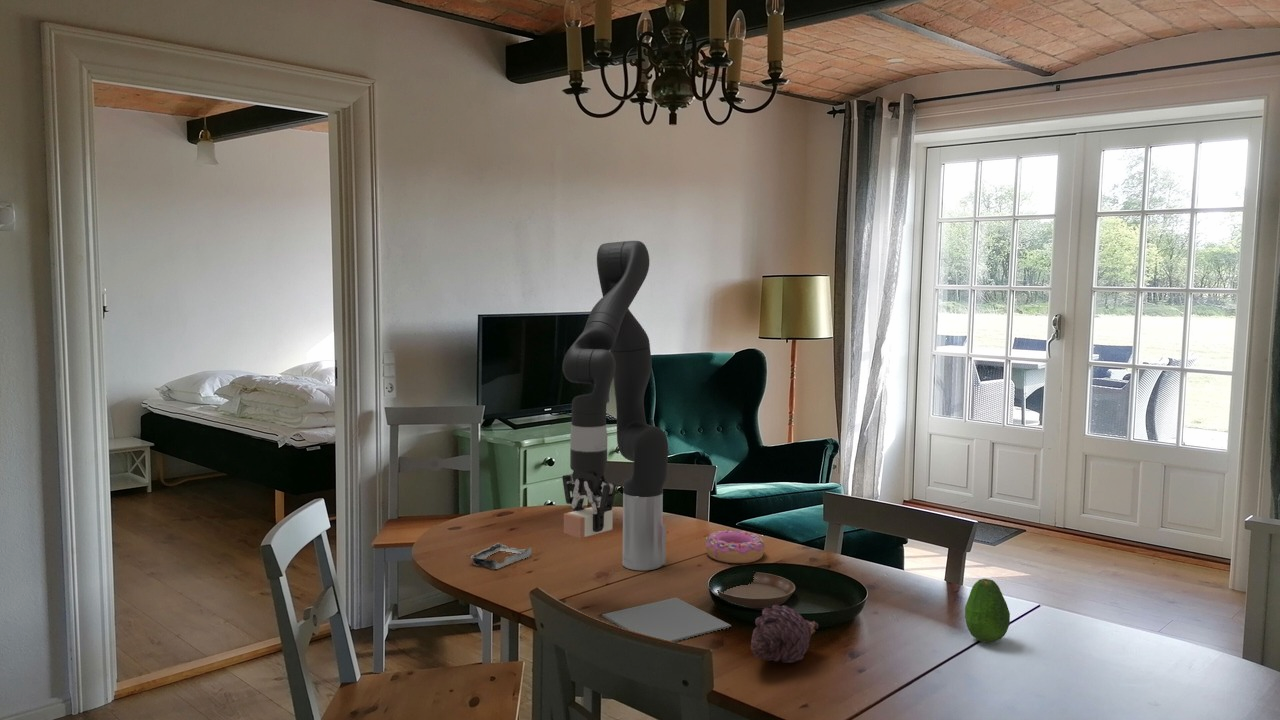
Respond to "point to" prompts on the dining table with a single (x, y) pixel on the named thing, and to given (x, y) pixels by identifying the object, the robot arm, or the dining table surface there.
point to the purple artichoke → (781, 634)
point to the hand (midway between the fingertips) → (588, 527)
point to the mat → (667, 620)
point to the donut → (734, 546)
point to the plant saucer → (760, 591)
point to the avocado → (987, 612)
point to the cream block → (585, 522)
